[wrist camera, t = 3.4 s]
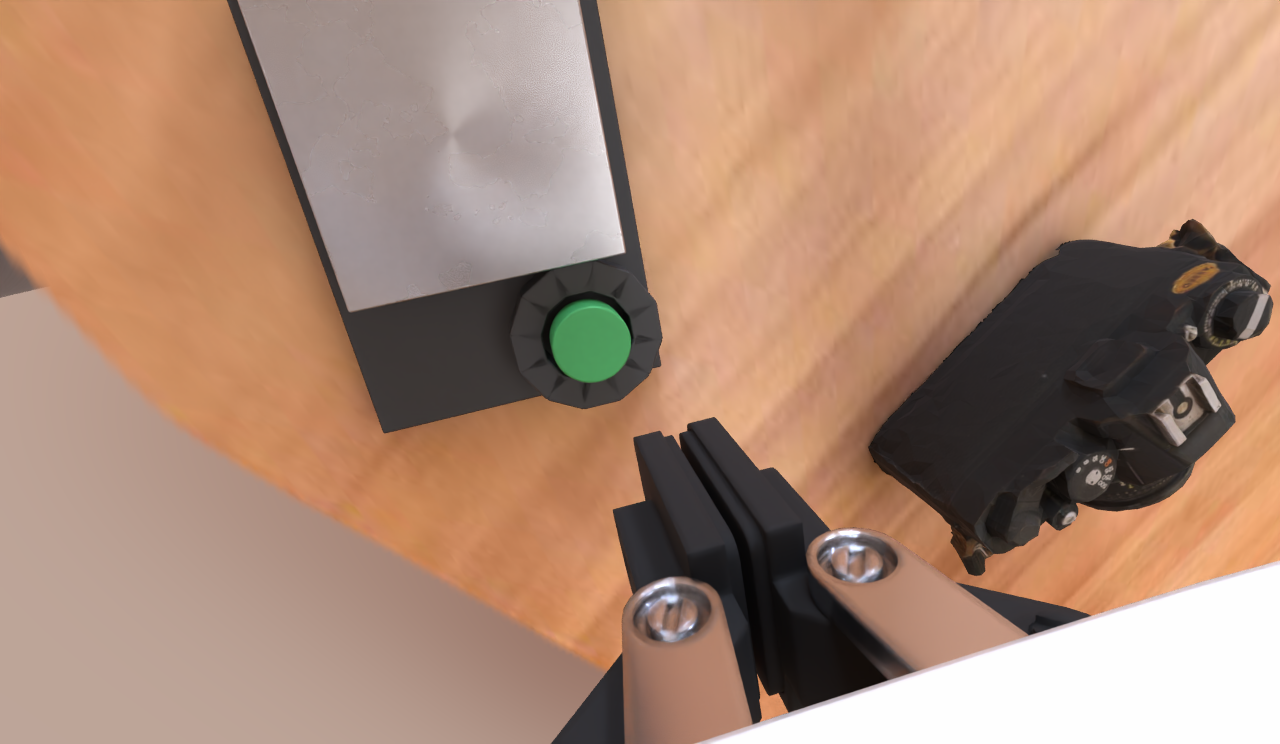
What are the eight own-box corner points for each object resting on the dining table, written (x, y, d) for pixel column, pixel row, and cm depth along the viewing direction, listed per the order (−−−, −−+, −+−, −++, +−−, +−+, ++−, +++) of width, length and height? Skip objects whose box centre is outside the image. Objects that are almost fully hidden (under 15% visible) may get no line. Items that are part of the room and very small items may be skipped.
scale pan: (353, 309, 21) (348, 313, 21) (241, -9, 18) (229, -17, 17) (622, 251, 23) (627, 253, 22) (565, -54, 19) (568, -63, 19)
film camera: (1003, 546, 36) (1176, 675, 27) (841, 487, 32) (977, 613, 23) (1178, 273, 32) (1448, 311, 23) (1020, 171, 29) (1267, 166, 19)
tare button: (558, 378, 24) (561, 391, 23) (541, 307, 23) (543, 316, 22) (630, 362, 25) (637, 373, 23) (616, 290, 24) (623, 298, 22)
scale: (392, 431, 26) (379, 461, 23) (241, 4, 21) (199, -23, 18) (656, 367, 28) (672, 388, 25) (582, -44, 22) (592, -76, 19)
